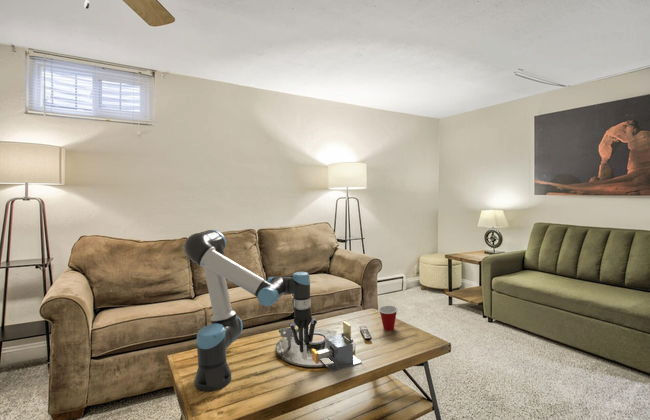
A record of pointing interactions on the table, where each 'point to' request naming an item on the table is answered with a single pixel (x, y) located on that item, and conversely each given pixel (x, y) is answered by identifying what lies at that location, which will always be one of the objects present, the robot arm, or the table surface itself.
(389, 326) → the plastic cup
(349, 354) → the grey boxy piece
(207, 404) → the table surface
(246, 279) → the robot arm
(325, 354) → the lynch pin
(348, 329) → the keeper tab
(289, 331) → the mechanical component
